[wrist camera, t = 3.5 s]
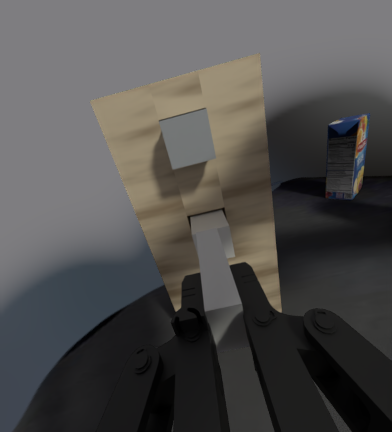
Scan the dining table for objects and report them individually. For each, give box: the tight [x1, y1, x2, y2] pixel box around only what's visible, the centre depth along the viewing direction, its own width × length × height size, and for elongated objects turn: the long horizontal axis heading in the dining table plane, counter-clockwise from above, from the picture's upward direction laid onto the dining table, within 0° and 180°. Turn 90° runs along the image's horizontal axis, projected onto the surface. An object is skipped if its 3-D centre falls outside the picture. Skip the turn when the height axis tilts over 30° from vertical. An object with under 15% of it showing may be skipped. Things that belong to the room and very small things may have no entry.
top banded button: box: [159, 108, 216, 170], centre depth 21 cm, size 5×5×5 cm
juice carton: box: [325, 113, 370, 200], centre depth 64 cm, size 12×8×24 cm, turn 132°
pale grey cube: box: [190, 209, 235, 258], centre depth 25 cm, size 5×4×4 cm
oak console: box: [90, 53, 282, 313], centre depth 32 cm, size 10×18×38 cm, turn 93°
